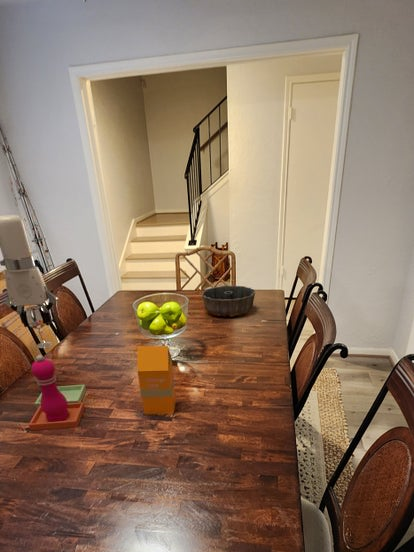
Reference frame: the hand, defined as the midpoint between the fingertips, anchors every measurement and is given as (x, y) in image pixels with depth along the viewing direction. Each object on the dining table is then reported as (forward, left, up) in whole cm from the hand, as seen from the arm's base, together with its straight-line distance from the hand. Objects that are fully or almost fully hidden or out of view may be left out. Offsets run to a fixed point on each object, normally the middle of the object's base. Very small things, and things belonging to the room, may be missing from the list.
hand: (38, 324), depth 114 cm
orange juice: (+36, -18, -23) cm, 46 cm away
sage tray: (+4, -8, -22) cm, 24 cm away
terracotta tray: (+6, -20, -22) cm, 30 cm away
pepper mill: (+6, -20, -22) cm, 30 cm away
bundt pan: (+67, +67, -23) cm, 98 cm away
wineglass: (0, 0, -7) cm, 7 cm away
